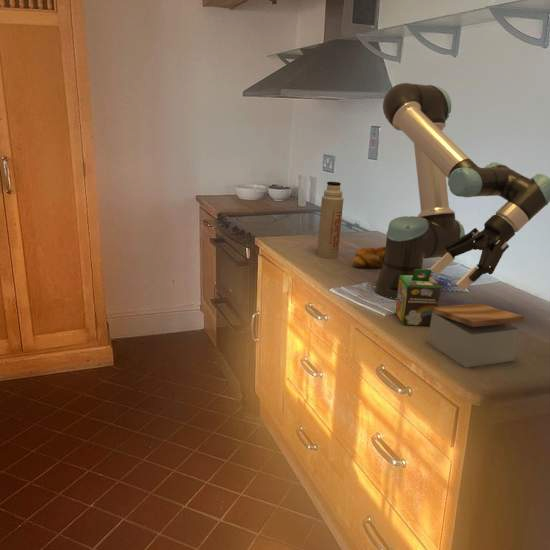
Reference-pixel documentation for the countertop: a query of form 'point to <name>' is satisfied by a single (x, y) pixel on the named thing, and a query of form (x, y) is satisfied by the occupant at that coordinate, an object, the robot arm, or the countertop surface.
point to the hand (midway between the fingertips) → (445, 279)
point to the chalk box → (417, 298)
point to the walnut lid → (477, 314)
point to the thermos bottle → (330, 221)
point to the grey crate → (473, 341)
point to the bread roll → (369, 257)
